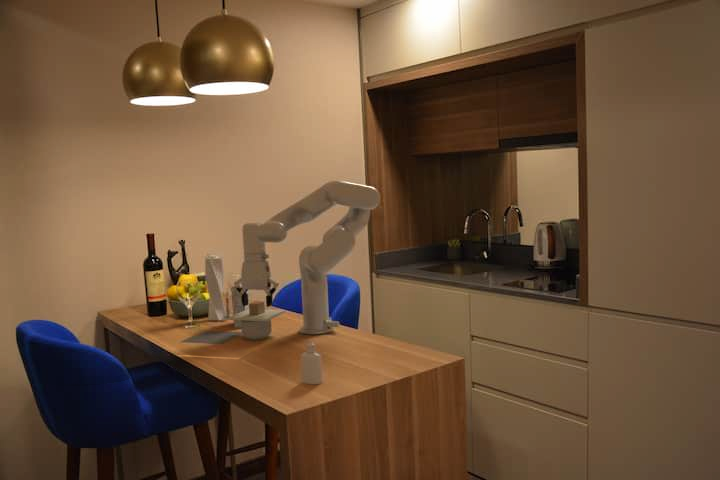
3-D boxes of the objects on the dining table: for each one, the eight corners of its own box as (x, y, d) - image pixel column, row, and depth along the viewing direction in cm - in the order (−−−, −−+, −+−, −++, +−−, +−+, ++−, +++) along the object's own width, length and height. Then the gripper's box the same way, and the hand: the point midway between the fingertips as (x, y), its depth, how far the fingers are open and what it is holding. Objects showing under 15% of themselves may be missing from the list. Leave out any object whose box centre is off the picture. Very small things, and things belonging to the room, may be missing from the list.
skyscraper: (221, 322, 255) (217, 253, 253) (204, 321, 258) (199, 253, 255) (231, 317, 263) (228, 250, 261) (214, 317, 266) (210, 250, 263)
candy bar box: (239, 323, 253) (236, 282, 251) (251, 322, 253) (249, 281, 251) (233, 329, 242) (230, 287, 240) (246, 329, 241) (243, 286, 240)
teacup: (262, 343, 219) (261, 320, 218) (235, 341, 223) (234, 319, 222) (281, 333, 232) (280, 312, 231) (255, 332, 236) (254, 311, 235)
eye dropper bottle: (312, 378, 178) (310, 336, 177) (324, 382, 173) (322, 339, 172) (299, 382, 175) (297, 339, 174) (311, 386, 171) (309, 342, 170)
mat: (246, 333, 234) (246, 332, 234) (222, 345, 218) (222, 344, 218) (205, 332, 239) (205, 330, 239) (179, 343, 223) (179, 341, 223)
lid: (285, 312, 231) (284, 299, 231) (267, 321, 217) (266, 307, 217) (248, 311, 236) (247, 298, 235) (228, 319, 222) (227, 306, 221)
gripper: (281, 256, 226) (284, 304, 227) (237, 256, 231) (240, 303, 233) (272, 259, 219) (275, 308, 220) (227, 259, 224) (230, 307, 225)
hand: (257, 305), depth 226 cm, fingers open, 9 cm apart
